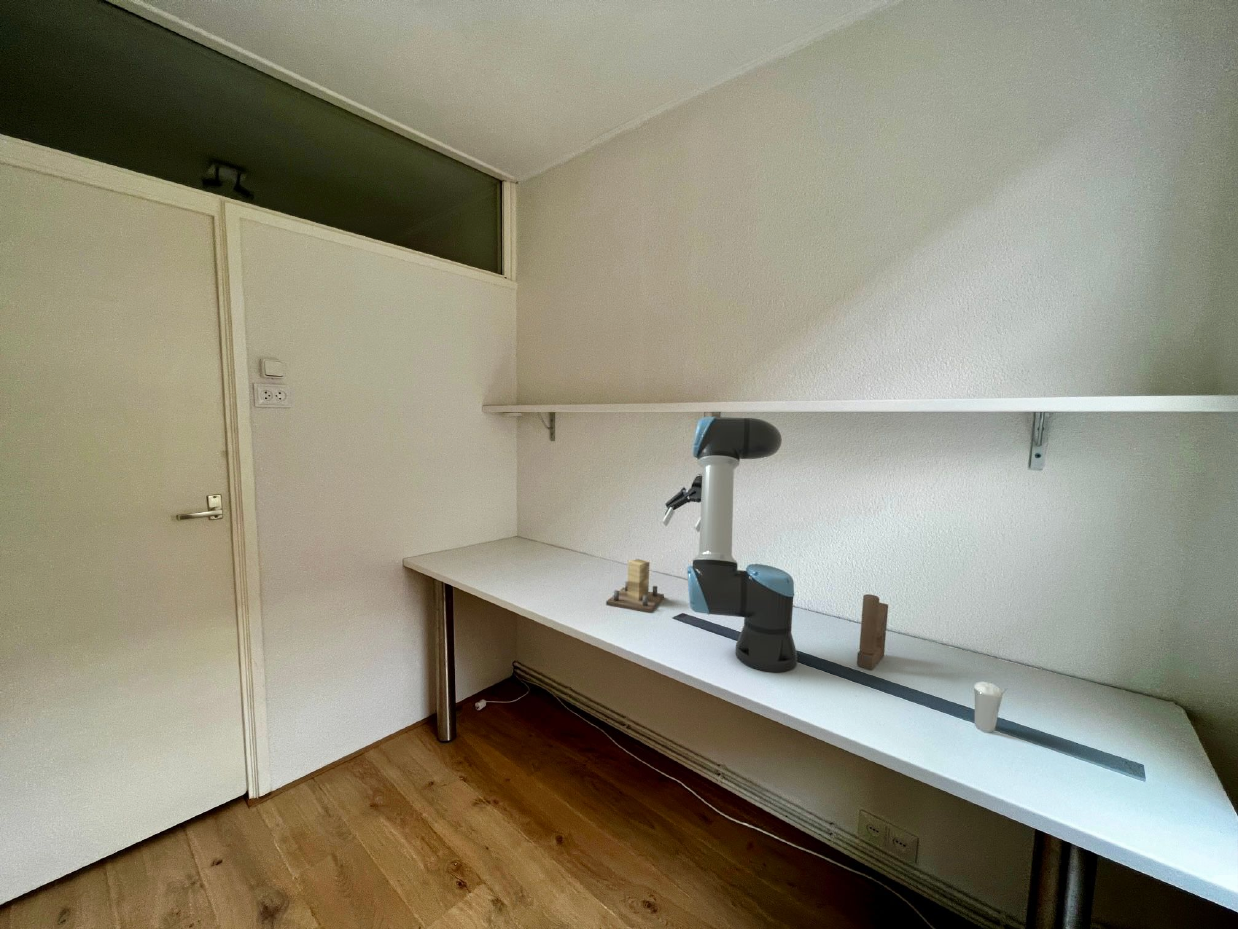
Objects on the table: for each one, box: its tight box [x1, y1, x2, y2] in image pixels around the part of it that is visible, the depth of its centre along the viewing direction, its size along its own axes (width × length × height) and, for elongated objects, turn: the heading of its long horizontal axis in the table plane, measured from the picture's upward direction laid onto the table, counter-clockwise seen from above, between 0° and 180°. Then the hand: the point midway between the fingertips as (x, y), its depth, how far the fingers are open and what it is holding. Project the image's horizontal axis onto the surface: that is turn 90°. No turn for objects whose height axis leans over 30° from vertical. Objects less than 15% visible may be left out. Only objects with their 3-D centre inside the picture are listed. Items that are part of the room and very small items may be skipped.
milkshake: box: [973, 681, 1008, 734], centre depth 98 cm, size 4×5×10 cm
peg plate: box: [605, 581, 665, 614], centre depth 163 cm, size 15×15×4 cm
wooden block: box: [856, 594, 889, 671], centre depth 125 cm, size 4×11×18 cm, turn 137°
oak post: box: [627, 558, 651, 601], centre depth 163 cm, size 5×5×12 cm
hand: (680, 526), depth 171 cm, fingers open, 13 cm apart
